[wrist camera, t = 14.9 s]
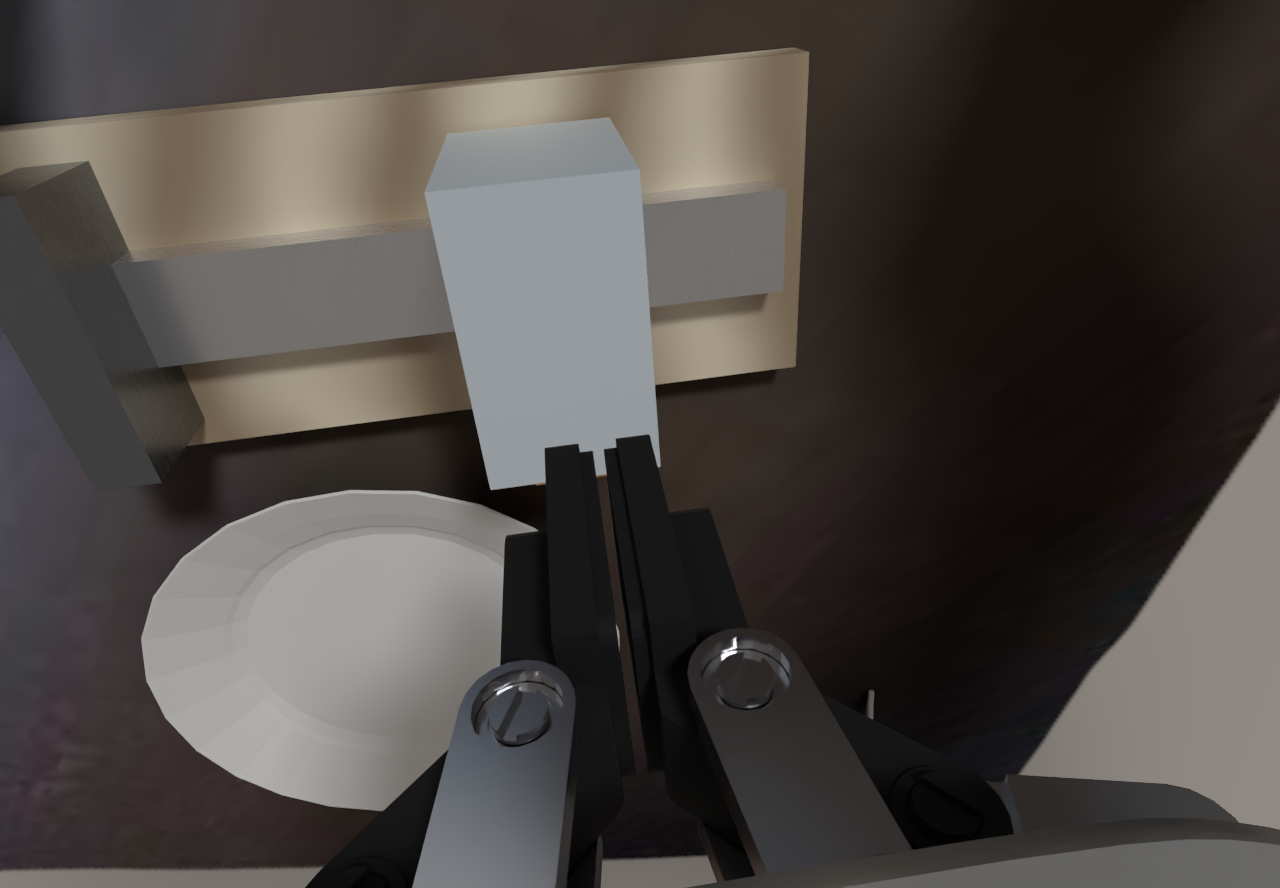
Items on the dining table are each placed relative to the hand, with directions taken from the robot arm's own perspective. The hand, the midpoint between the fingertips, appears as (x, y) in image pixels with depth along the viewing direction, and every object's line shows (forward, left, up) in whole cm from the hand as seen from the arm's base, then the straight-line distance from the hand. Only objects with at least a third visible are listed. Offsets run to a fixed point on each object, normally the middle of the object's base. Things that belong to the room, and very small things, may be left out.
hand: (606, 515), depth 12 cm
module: (+1, +1, -16) cm, 16 cm away
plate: (+10, +20, -18) cm, 28 cm away
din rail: (+5, +1, -16) cm, 17 cm away
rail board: (+5, +1, -17) cm, 18 cm away
